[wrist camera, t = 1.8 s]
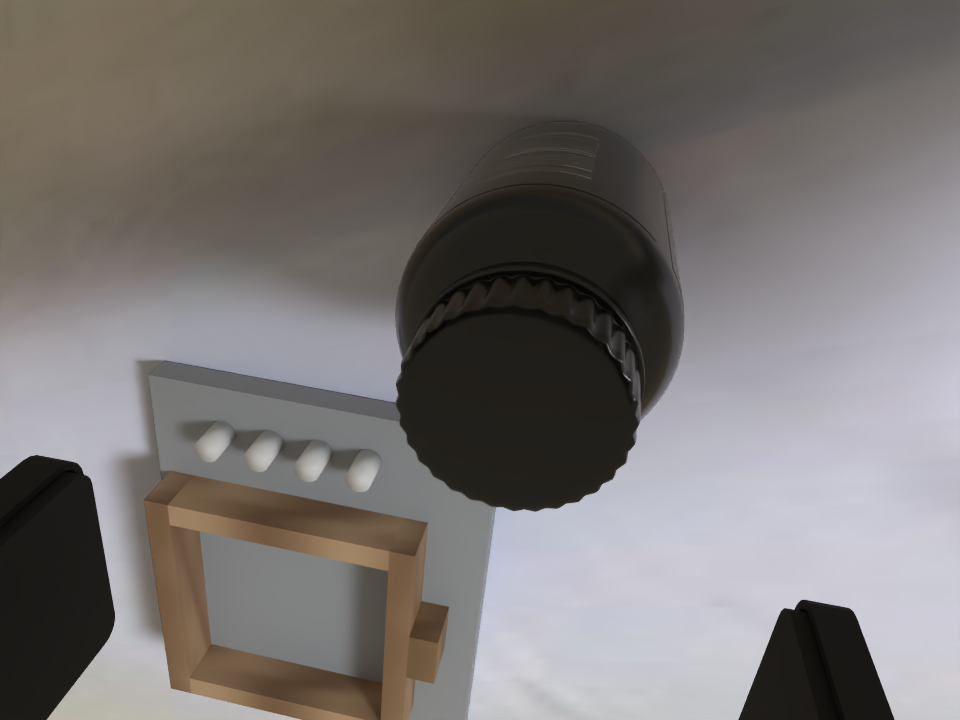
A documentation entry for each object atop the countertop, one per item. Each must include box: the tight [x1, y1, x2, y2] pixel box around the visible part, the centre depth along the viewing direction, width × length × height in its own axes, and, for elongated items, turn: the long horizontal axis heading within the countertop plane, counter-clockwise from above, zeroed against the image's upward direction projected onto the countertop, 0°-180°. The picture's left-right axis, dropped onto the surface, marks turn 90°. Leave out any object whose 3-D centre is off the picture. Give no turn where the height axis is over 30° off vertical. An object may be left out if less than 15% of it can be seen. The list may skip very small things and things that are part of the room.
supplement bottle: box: [395, 121, 684, 512], centre depth 20 cm, size 7×7×12 cm
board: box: [148, 361, 496, 720], centre depth 33 cm, size 14×18×3 cm
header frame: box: [144, 471, 449, 720], centre depth 32 cm, size 12×11×2 cm
